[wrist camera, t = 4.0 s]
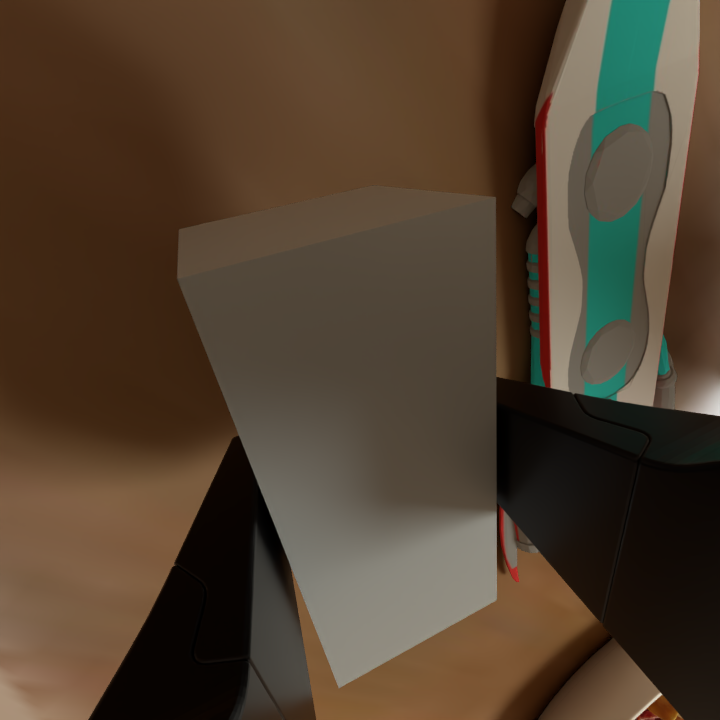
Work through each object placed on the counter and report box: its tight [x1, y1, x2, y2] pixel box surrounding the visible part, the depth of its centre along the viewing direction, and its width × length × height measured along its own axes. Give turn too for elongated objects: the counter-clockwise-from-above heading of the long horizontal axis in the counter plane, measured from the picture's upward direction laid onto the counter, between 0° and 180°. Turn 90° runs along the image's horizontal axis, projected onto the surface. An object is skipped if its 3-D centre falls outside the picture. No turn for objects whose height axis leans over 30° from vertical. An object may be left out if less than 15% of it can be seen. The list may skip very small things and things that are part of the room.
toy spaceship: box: [499, 0, 700, 582], centre depth 16 cm, size 27×11×5 cm, turn 20°
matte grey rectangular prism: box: [177, 185, 497, 688], centre depth 9 cm, size 4×9×4 cm, turn 10°
